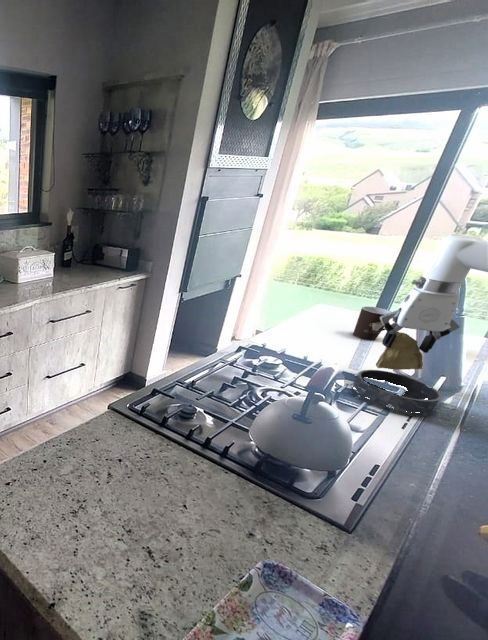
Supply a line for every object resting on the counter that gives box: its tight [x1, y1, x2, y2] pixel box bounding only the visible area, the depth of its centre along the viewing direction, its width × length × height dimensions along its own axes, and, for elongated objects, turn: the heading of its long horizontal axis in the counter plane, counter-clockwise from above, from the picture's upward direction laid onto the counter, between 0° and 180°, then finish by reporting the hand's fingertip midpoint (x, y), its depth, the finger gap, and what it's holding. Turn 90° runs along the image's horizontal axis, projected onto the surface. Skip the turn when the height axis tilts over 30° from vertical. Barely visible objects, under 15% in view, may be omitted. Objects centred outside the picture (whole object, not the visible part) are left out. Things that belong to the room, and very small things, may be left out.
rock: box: [375, 331, 424, 371], centre depth 113 cm, size 11×9×10 cm
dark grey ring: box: [350, 369, 443, 417], centre depth 105 cm, size 16×16×4 cm
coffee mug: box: [352, 305, 392, 342], centre depth 142 cm, size 12×9×10 cm
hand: (404, 348), depth 113 cm, fingers closed on rock, 7 cm apart
